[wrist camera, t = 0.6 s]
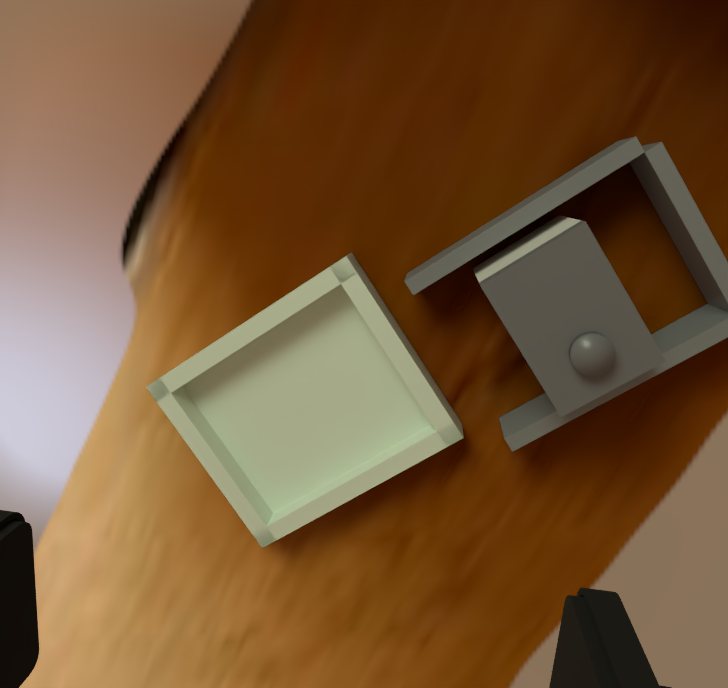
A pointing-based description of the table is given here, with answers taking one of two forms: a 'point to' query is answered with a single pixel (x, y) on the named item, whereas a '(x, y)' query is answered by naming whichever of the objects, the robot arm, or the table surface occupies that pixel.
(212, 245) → the table surface
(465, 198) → the table surface
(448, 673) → the table surface
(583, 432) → the table surface
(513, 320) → the grey box with knob
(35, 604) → the robot arm
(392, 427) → the dock tray
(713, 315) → the bay
